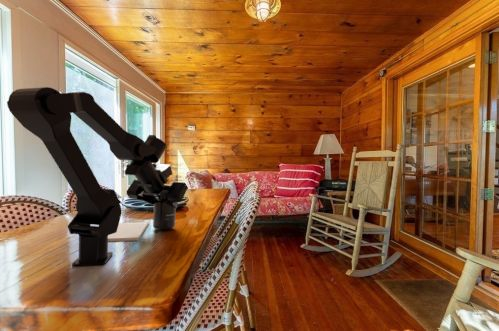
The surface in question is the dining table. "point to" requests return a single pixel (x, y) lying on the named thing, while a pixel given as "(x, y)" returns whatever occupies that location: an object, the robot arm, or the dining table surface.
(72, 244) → the dining table surface
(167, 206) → the supplement bottle
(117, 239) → the pale grey mat
